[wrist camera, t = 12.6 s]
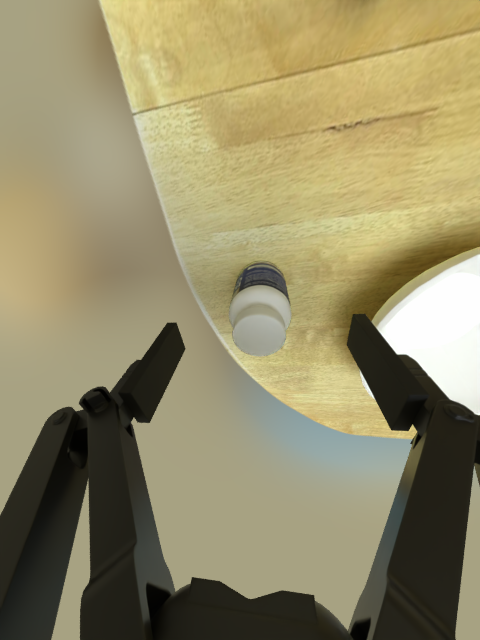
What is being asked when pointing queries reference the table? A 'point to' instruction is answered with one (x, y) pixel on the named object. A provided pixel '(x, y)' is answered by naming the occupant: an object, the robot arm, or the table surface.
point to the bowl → (440, 326)
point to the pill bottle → (260, 309)
